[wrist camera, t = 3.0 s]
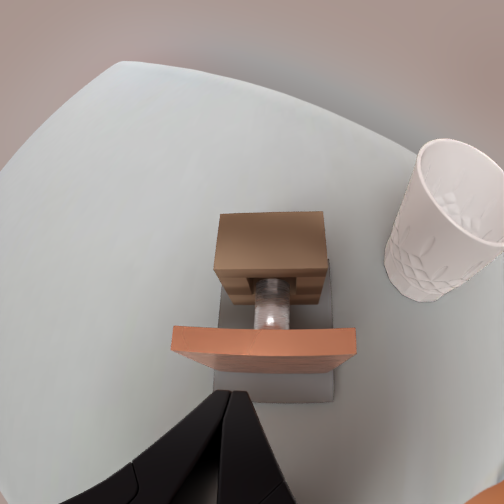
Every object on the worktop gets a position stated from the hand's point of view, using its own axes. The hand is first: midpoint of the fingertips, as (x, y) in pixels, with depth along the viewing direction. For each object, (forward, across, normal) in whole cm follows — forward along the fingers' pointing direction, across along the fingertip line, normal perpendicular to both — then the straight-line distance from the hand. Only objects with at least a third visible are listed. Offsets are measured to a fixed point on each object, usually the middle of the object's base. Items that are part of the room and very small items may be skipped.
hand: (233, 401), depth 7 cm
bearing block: (+12, -1, +4) cm, 13 cm away
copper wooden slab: (+11, -1, +4) cm, 12 cm away
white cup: (+15, -13, +1) cm, 20 cm away
